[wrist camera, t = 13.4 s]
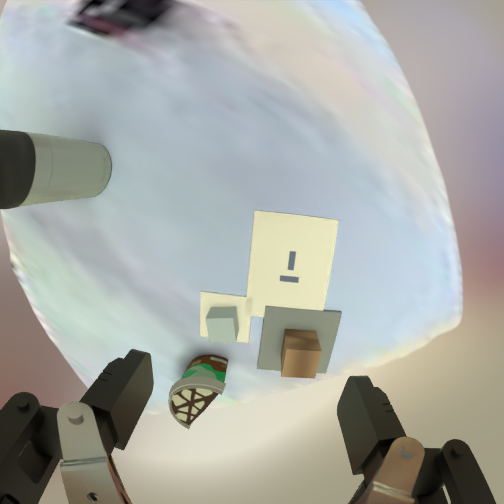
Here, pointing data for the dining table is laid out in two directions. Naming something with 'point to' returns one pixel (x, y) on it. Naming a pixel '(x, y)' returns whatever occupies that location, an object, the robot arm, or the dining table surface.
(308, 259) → the plaque
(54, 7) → the dining table surface
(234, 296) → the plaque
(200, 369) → the food container
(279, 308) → the mat
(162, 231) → the dining table surface
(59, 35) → the dining table surface
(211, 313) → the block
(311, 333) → the block
